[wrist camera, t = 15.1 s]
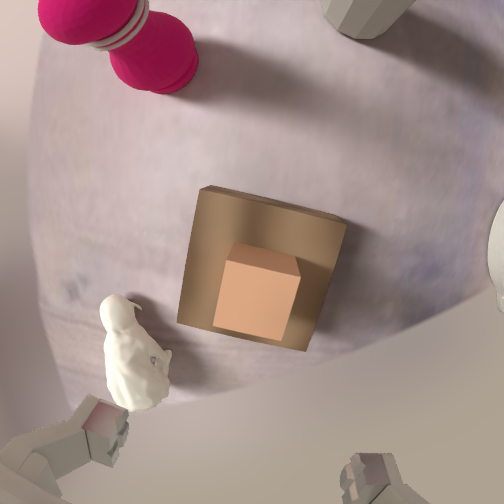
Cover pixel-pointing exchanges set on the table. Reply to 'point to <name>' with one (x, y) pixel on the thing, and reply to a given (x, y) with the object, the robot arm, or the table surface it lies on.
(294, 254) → the walnut stand
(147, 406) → the penguin figurine
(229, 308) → the terracotta cube
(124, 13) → the pepper mill
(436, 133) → the table surface
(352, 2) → the water bottle
